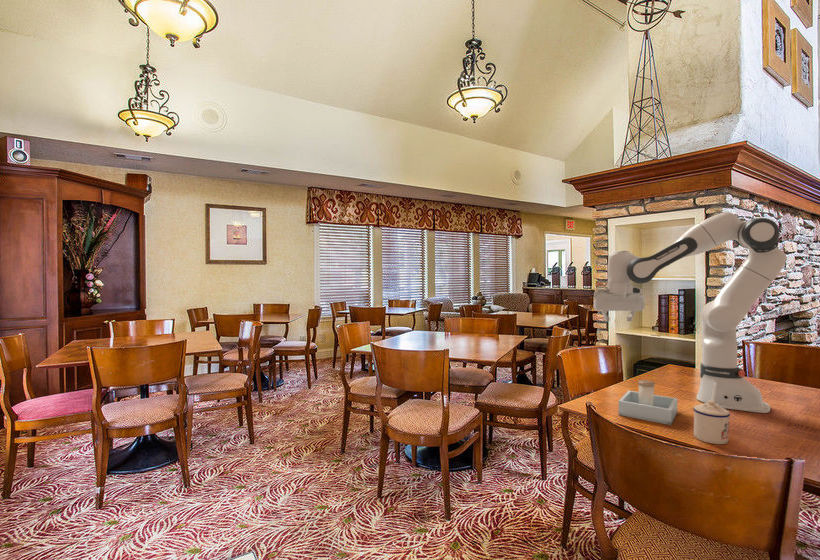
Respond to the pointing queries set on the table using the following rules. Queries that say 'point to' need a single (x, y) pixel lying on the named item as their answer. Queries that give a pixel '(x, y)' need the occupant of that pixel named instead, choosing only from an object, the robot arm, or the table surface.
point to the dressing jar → (646, 392)
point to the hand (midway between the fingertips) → (618, 321)
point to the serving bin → (648, 408)
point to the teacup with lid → (711, 423)
